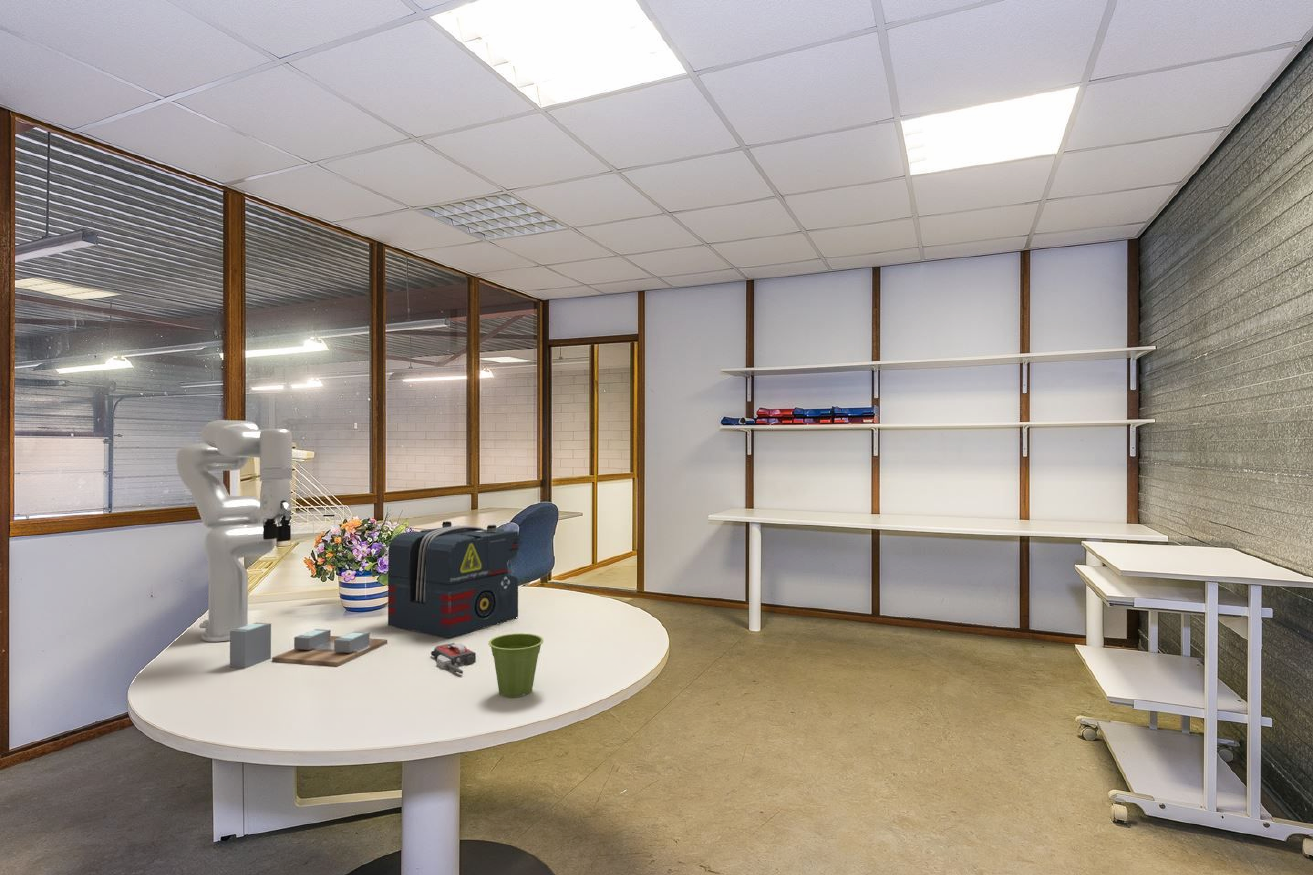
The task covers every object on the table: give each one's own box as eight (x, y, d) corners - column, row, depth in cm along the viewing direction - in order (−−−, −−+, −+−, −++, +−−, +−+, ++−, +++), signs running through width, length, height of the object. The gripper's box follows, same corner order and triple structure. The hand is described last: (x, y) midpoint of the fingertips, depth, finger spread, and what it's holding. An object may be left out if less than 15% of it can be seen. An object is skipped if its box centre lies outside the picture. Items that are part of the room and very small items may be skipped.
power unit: (449, 639, 187) (449, 532, 187) (387, 626, 201) (387, 527, 202) (519, 617, 210) (519, 523, 211) (458, 607, 225) (459, 518, 225)
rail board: (272, 661, 168) (272, 642, 168) (327, 639, 187) (327, 622, 187) (337, 666, 163) (337, 647, 164) (387, 643, 183) (387, 626, 183)
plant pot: (493, 705, 138) (493, 651, 138) (484, 687, 149) (484, 636, 149) (549, 697, 143) (549, 644, 143) (536, 679, 154) (536, 630, 154)
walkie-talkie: (422, 659, 170) (457, 679, 155) (422, 642, 170) (457, 660, 155) (455, 652, 176) (491, 671, 161) (455, 635, 176) (491, 652, 161)
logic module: (229, 667, 163) (230, 630, 163) (255, 657, 171) (256, 621, 171) (245, 668, 162) (245, 631, 162) (270, 658, 170) (271, 622, 170)
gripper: (249, 476, 179) (249, 539, 178) (272, 475, 167) (273, 543, 167) (279, 475, 184) (280, 536, 184) (304, 474, 173) (304, 540, 172)
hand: (276, 540), depth 175 cm, fingers open, 9 cm apart
